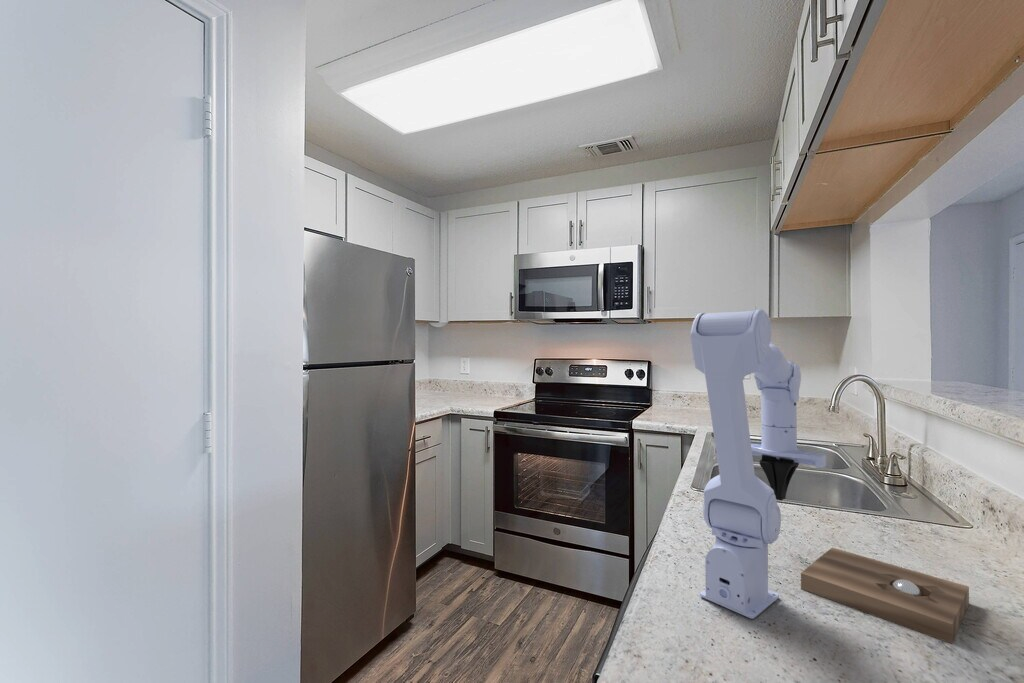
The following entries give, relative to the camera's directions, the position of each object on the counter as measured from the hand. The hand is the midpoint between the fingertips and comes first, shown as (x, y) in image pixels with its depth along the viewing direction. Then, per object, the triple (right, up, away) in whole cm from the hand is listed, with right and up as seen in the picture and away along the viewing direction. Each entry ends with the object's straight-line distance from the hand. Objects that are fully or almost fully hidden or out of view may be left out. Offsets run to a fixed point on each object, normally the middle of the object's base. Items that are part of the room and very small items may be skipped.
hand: (779, 498), depth 85 cm
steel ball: (+9, -8, -17) cm, 21 cm away
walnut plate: (+8, -10, -14) cm, 19 cm away
